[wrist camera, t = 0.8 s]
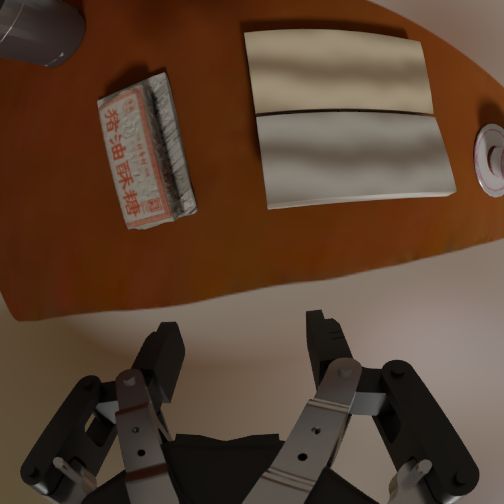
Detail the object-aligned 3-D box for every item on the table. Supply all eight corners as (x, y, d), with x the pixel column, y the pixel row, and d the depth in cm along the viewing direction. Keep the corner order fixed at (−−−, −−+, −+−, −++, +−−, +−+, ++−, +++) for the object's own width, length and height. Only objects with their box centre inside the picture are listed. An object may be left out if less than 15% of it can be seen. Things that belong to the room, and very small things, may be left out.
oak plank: (244, 40, 26) (244, 32, 23) (410, 46, 24) (420, 42, 22) (255, 115, 29) (255, 113, 27) (422, 114, 28) (433, 113, 25)
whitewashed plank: (257, 127, 29) (256, 117, 27) (426, 125, 28) (434, 117, 25) (267, 209, 28) (267, 204, 26) (446, 196, 27) (456, 191, 25)
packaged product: (192, 221, 29) (115, 239, 30) (200, 210, 34) (131, 227, 35) (156, 64, 23) (81, 97, 24) (169, 73, 27) (101, 101, 28)
